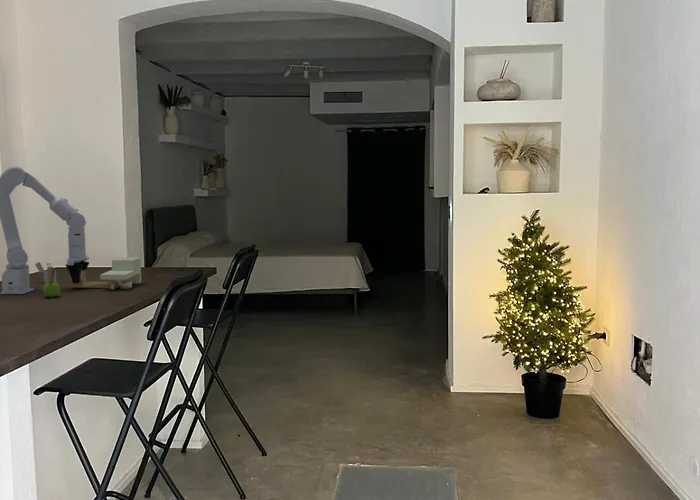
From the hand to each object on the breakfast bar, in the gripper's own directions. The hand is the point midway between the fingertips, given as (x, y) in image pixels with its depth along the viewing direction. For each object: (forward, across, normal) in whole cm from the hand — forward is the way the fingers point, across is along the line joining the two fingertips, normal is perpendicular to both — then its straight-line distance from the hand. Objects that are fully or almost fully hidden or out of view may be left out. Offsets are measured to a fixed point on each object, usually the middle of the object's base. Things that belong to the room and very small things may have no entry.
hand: (78, 282), depth 235 cm
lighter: (+2, +14, +18) cm, 23 cm away
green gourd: (+2, -20, +2) cm, 20 cm away
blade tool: (+2, 0, -6) cm, 6 cm away
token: (+2, 0, -17) cm, 17 cm away
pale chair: (+2, +3, -15) cm, 15 cm away
